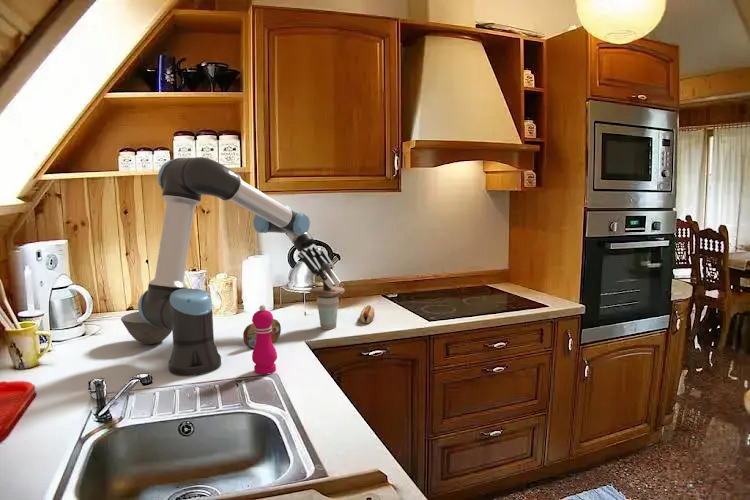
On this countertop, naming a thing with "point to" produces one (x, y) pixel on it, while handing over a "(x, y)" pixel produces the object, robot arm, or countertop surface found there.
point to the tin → (250, 336)
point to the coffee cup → (328, 311)
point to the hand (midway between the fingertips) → (335, 285)
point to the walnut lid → (325, 289)
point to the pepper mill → (263, 343)
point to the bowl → (144, 329)
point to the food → (367, 314)
